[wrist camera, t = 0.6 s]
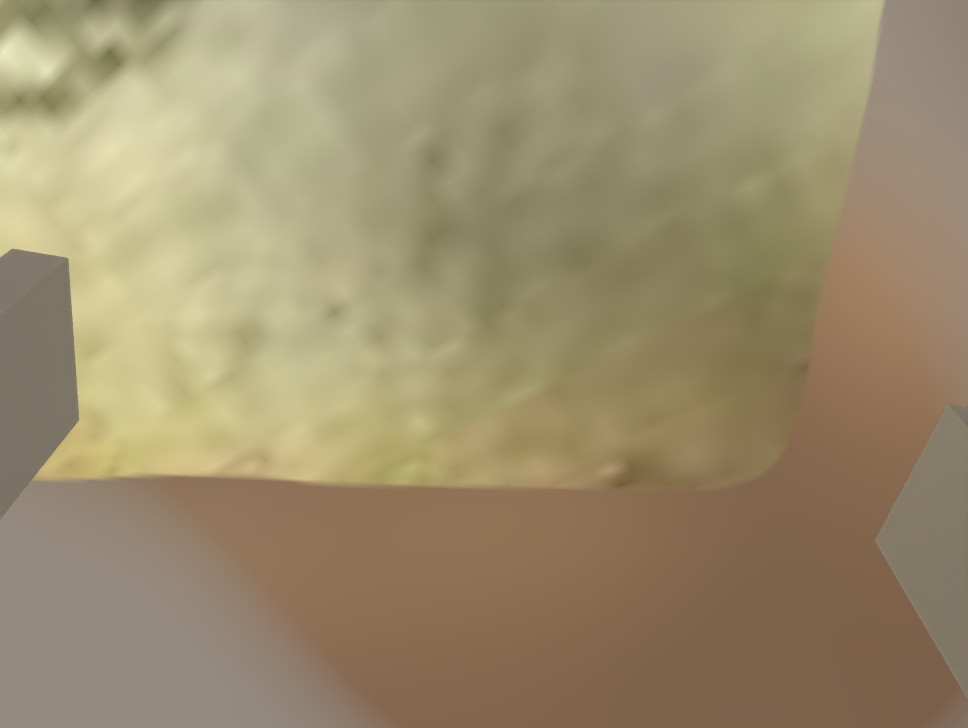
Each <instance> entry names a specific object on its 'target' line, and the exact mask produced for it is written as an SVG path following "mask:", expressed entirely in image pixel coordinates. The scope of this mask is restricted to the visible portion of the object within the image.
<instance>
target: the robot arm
mask: <svg viewBox="0 0 968 728" xmlns="http://www.w3.org/2000/svg"><path fill="white" fill-rule="evenodd" d="M78 421H79V409H78V395H77V380H76V365H75V351H74V336H73V321H72V307H71V292H70V277H69V263H68V258H65V257H59V256H53V255H47V254H41V253H35V252H29V251H23V250H17V249H11V250H10V251H9V252H7V253H6V254H4V255H3V256H2V257H0V519H1V518H2V517H3V515H4V514H5V513H6V511H7V510H8V509H9V508H10V507H11V505H12V504H13V502H14V501H15V500H16V499H17V498H18V496H19V495H20V494H21V493H22V491H23V490H24V489H25V488H26V486H27V485H28V484H29V483H30V481H31V480H32V479H33V477H34V476H35V475H36V474H37V472H38V471H39V470H40V469H41V467H42V466H43V465H44V464H45V462H46V461H47V460H48V459H49V457H50V456H51V455H52V454H53V452H54V451H55V450H56V448H57V447H58V446H59V445H60V443H61V442H62V441H63V440H64V438H65V437H66V436H67V435H68V433H69V432H70V431H71V430H72V428H73V427H74V426H75V425H76V423H77V422H78ZM875 542H876V544H877V545H878V547H879V549H880V551H881V552H882V554H883V555H884V557H885V559H886V561H887V562H888V564H889V566H890V567H891V569H892V571H893V573H894V574H895V576H896V578H897V580H898V581H899V583H900V585H901V586H902V588H903V590H904V591H905V593H906V595H907V597H908V598H909V600H910V602H911V603H912V605H913V607H914V609H915V610H916V612H917V614H918V615H919V617H920V619H921V621H922V622H923V624H924V626H925V627H926V629H927V631H928V632H929V634H930V636H931V638H932V639H933V641H934V643H935V644H936V646H937V648H938V650H939V651H940V653H941V655H942V656H943V658H944V660H945V661H946V663H947V665H948V667H949V668H950V670H951V672H952V673H953V675H954V677H955V679H956V680H957V682H958V684H959V685H960V687H961V689H962V690H963V692H964V694H965V696H966V697H967V699H968V407H962V406H956V405H950V404H947V405H946V407H945V410H944V411H943V413H942V415H941V417H940V419H939V421H938V422H937V425H936V426H935V428H934V430H933V432H932V434H931V436H930V438H929V439H928V441H927V443H926V445H925V447H924V449H923V451H922V453H921V454H920V456H919V458H918V460H917V462H916V464H915V466H914V468H913V469H912V471H911V473H910V475H909V477H908V479H907V481H906V483H905V485H904V486H903V489H902V490H901V492H900V494H899V496H898V498H897V500H896V502H895V503H894V505H893V507H892V509H891V511H890V513H889V515H888V517H887V519H886V520H885V522H884V524H883V526H882V528H881V530H880V532H879V534H878V536H877V537H876V539H875Z"/></svg>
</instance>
